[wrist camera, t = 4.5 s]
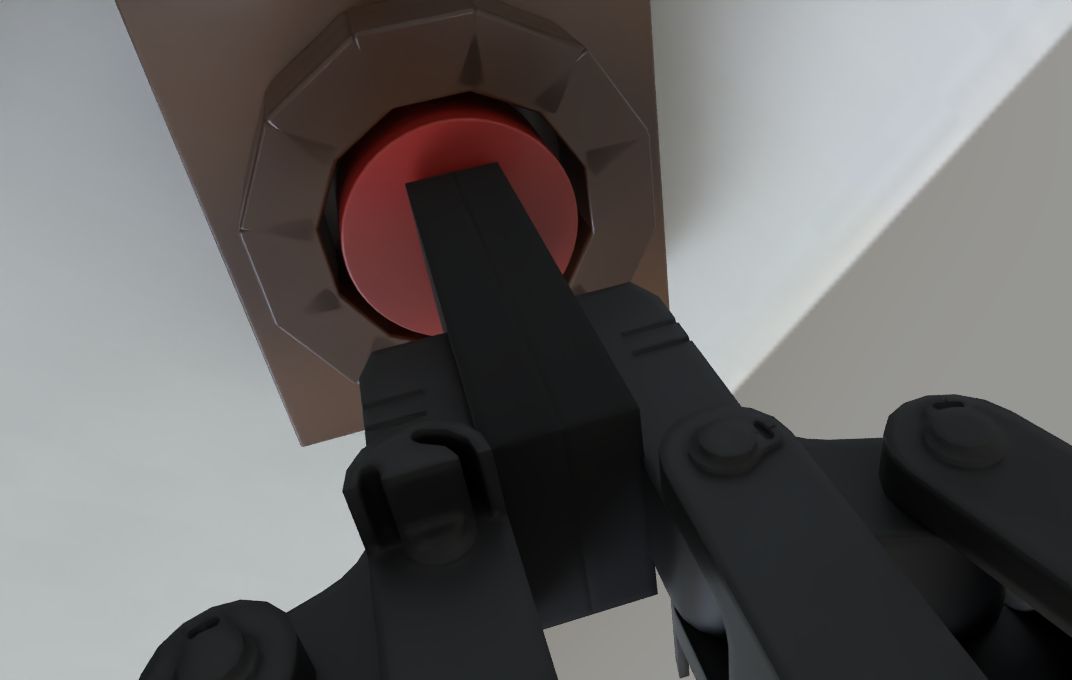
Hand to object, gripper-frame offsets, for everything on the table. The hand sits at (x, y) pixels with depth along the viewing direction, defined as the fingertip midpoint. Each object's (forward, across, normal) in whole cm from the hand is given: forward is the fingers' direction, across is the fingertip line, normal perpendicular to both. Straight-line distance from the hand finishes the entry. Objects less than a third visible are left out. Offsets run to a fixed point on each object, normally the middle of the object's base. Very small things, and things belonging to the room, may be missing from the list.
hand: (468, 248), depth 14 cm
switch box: (+5, 0, 0) cm, 5 cm away
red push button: (+2, 0, 0) cm, 2 cm away
